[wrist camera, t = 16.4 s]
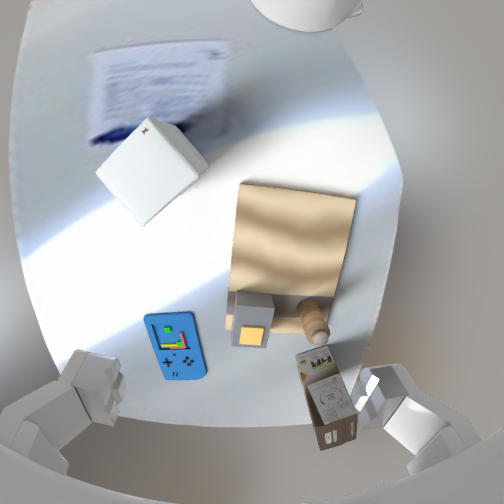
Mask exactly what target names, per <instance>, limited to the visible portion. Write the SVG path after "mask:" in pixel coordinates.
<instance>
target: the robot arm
mask: <svg viewBox="0 0 504 504" xmlns="http://www.w3.org/2000/svg"><path fill="white" fill-rule="evenodd" d="M251 1H252V3H253V4H254V5H255V7H256V8H257V9H258V10H259V11H260V12H261V13H262V14H263V15H264V16H265V17H267V18H268V19H270V20H271V21H273V22H275V23H277V24H279V25H281V26H284V27H287V28H290V29H293V30H298V31H305V32H318V31H324V30H328V29H331V28H333V27H335V26H337V25H338V24H340V23H341V22H342V21H343V20H345V19H346V18H350V17H355V16H358V15H360V14H361V13H362V12H363V5H362V1H363V0H251ZM120 367H121V365H120V362H119V359H117V358H114V357H110V356H105V355H101V354H97V353H92V352H87V351H83V350H79V349H77V350H76V351H74V353H73V354H72V356H71V358H70V359H69V361H68V363H67V365H66V366H65V368H64V370H63V372H62V373H61V375H60V377H59V379H58V381H57V382H56V381H52V382H50V383H48V384H47V385H45V386H43V387H41V388H40V389H38V390H36V391H34V392H32V393H30V394H29V395H27V396H25V397H23V398H21V399H20V400H18V401H16V402H14V403H12V404H11V405H9V406H7V407H5V408H4V410H3V411H2V413H1V415H0V504H175V503H168V502H161V501H155V500H150V499H145V498H139V497H135V496H130V495H126V494H122V493H118V492H115V491H111V490H108V489H104V488H100V487H97V486H94V485H91V484H88V483H85V482H82V481H79V480H77V479H74V478H71V477H69V476H66V472H67V468H68V465H69V464H68V462H67V461H66V460H65V458H64V457H63V456H62V455H61V454H60V453H59V452H58V451H59V450H60V449H61V448H63V447H64V446H65V445H66V444H67V443H68V442H70V441H71V440H72V439H73V438H74V437H75V436H76V435H78V434H79V433H80V432H81V431H82V430H84V429H85V428H86V427H87V426H88V425H89V424H91V421H93V422H98V423H102V424H106V425H111V426H115V423H116V420H117V417H118V413H119V409H118V407H117V405H118V404H119V403H120V402H122V401H123V397H124V393H125V380H124V376H123V375H122V374H121V373H120V372H119V370H120ZM359 376H360V378H361V380H359V381H358V382H357V383H355V385H354V387H353V389H352V403H353V405H354V408H356V409H357V410H359V411H360V413H359V416H358V418H359V420H360V423H361V425H362V428H363V430H364V431H365V430H370V429H376V428H381V427H384V429H385V430H386V431H387V432H389V433H390V434H391V435H392V436H393V437H394V438H395V439H397V440H398V441H399V442H400V443H401V444H402V445H404V446H405V447H406V448H407V449H408V450H410V451H411V452H412V453H413V454H414V455H416V456H415V457H414V458H413V459H412V460H411V461H410V462H409V463H408V464H407V468H408V470H409V473H410V476H408V477H405V478H402V479H400V480H397V481H394V482H391V483H388V484H385V485H382V486H379V487H375V488H372V489H368V490H365V491H361V492H357V493H353V494H349V495H345V496H340V497H336V498H331V499H325V500H320V501H315V502H307V503H300V504H504V426H503V427H501V428H500V429H498V430H497V431H495V432H494V433H492V434H491V435H489V436H488V437H486V438H485V439H483V440H481V439H480V437H479V435H478V434H477V432H476V430H475V429H474V427H473V426H472V424H471V422H470V421H469V419H468V418H467V417H466V416H464V415H462V414H460V413H459V412H457V411H455V410H454V409H452V408H450V407H448V406H447V405H445V404H443V403H442V402H440V401H438V400H436V399H435V398H433V397H431V396H430V395H428V394H426V393H424V392H420V391H419V389H418V388H417V386H416V385H415V383H414V382H413V380H412V378H411V377H410V375H409V374H408V372H407V371H406V369H405V368H404V366H403V365H402V364H400V363H398V364H390V365H382V366H374V367H366V368H364V369H363V370H362V371H361V373H360V375H359Z"/></svg>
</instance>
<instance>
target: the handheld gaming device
mask: <svg viewBox="0 0 504 504" xmlns="http://www.w3.org/2000/svg"><path fill="white" fill-rule="evenodd" d="M144 323H145V326H146V329H147V332H148V335H149V338H150V340H151V343H152V346H153V349H154V352H155V354H156V357H157V360H158V362H159V365H160V368H161V370H162V373H163V375H164V378H165V379H166V380H197V379H201V378H203V377H204V376H205V374H206V367H205V363H204V359H203V355H202V351H201V347H200V343H199V339H198V335H197V330H196V326H195V322H194V317H193V314H192V313H191V312H178V313H162V314H147V315H145V316H144Z"/></svg>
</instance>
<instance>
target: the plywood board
mask: <svg viewBox="0 0 504 504" xmlns="http://www.w3.org/2000/svg"><path fill="white" fill-rule="evenodd" d="M355 203H356V200H354V199H351V198H345V197H338V196H332V195H326V194H319V193H312V192H305V191H298V190H290V189H282V188H274V187H265V186H256V185H247V184H239V190H238V200H237V209H236V219H235V228H234V238H233V248H232V259H231V269H230V280H229V289H228V300H227V313H226V325H225V330H231V328H232V320H233V312H234V305H235V297H236V291H247V292H258V293H270V294H271V296H272V300H273V304H274V307H275V310H274V314H273V319H272V323H271V328H270V332H276V333H305V331H304V329H303V326H302V323H301V321H300V318H299V315H298V313H297V305H298V303H299V302H300V301H302V300H303V299H307V298H310V299H313V300H315V302H316V303H317V305H318V307H319V309H320V311H321V313H322V315H323V317H324V319H325V321H326V322H327V319H328V316H329V313H330V309H331V306H332V302H333V298H334V294H335V291H336V287H337V283H338V279H339V275H340V271H341V267H342V263H343V259H344V255H345V251H346V246H347V242H348V237H349V233H350V228H351V223H352V219H353V214H354V209H355Z"/></svg>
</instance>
